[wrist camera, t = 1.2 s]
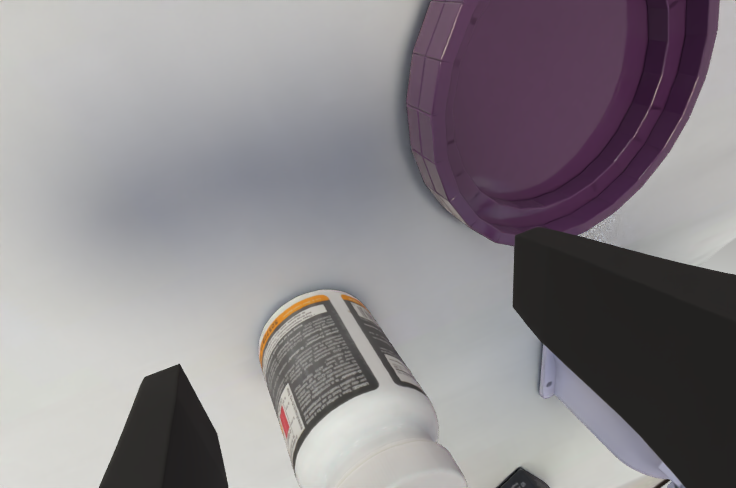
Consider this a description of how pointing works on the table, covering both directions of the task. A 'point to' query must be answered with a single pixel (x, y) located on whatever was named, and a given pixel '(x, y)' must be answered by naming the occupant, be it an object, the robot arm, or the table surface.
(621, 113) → the dish
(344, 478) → the pill bottle
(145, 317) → the table surface
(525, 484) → the box
